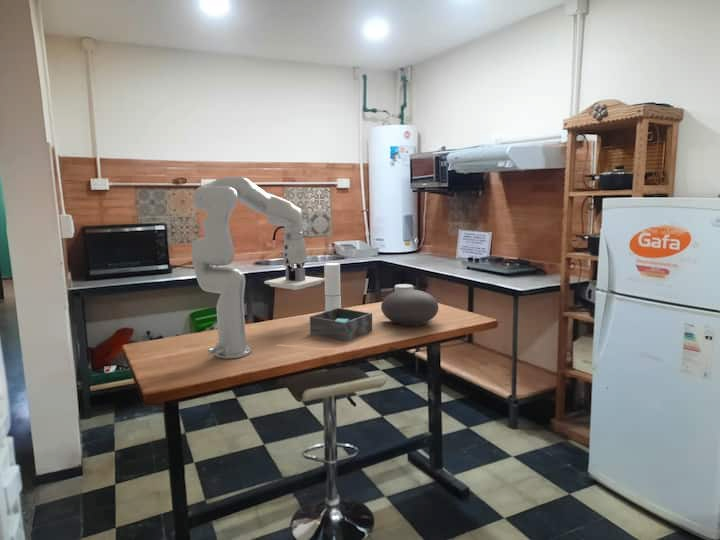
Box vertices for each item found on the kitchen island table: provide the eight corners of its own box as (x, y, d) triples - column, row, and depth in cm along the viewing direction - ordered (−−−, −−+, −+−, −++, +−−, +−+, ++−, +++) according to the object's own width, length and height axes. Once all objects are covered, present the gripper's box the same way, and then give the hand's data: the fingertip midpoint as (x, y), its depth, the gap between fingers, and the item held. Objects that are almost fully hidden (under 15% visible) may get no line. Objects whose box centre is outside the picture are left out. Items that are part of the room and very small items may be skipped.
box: (345, 343, 188) (345, 323, 186) (310, 335, 198) (309, 316, 197) (372, 332, 202) (372, 313, 201) (338, 325, 212) (337, 307, 211)
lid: (296, 291, 198) (295, 273, 196) (264, 286, 209) (263, 269, 207) (326, 283, 212) (325, 267, 211) (295, 279, 223) (294, 263, 222)
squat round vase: (405, 313, 232) (405, 282, 229) (449, 322, 214) (450, 289, 212) (369, 324, 214) (369, 290, 212) (414, 335, 197) (414, 299, 195)
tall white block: (342, 315, 230) (340, 262, 226) (339, 319, 223) (338, 265, 219) (327, 315, 231) (325, 262, 227) (324, 319, 224) (322, 265, 220)
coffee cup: (414, 311, 234) (414, 287, 232) (395, 312, 234) (395, 287, 232) (412, 307, 244) (412, 283, 242) (393, 307, 243) (393, 284, 242)
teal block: (345, 334, 197) (345, 322, 196) (333, 333, 198) (333, 321, 197) (349, 330, 202) (349, 319, 201) (337, 330, 203) (337, 318, 202)
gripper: (286, 238, 198) (288, 283, 201) (313, 235, 211) (314, 277, 214) (273, 238, 203) (275, 281, 206) (300, 234, 216) (302, 275, 219)
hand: (295, 278), depth 210 cm, fingers closed on lid, 3 cm apart
